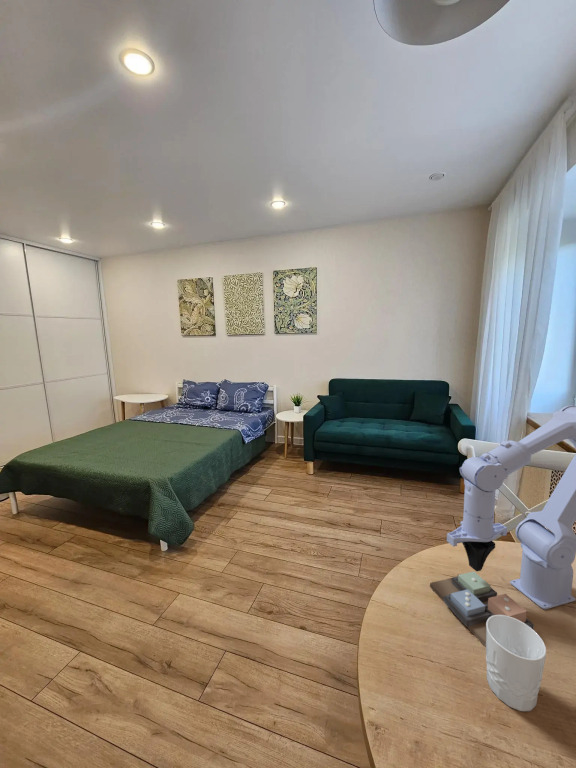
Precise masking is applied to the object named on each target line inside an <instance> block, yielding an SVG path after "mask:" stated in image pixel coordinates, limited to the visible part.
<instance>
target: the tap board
mask: <svg viewBox="0 0 576 768" xmlns="http://www.w3.org/2000/svg"><path fill="white" fill-rule="evenodd" d="M429 587H430V589H431V590H432V591H433V592H435V594H436V595H437V596H438V597H439V598H440V599H441V601H443V602H444V604H445V605H446V606H447V607H448V608H449V609H450V611H451V612H452V613H453V614H454V615H455V616H456V617H457V618H458V619H459V621H461V622H462V623H463V625H464V626H465V628H467V629H468V630H469V631H470V632H471V634H473V636H474V637H475V638H476V639H477V640H478V641H479V642H480V644H482V645H483V647H484V648H486V622H487V620H488V618H489V617H491V616H493V614H492V613H491V612H490V611H489V610H488V598H491V597H495V596H498V592H497V591H496V590H495V589H493V588H492V586H491V587H490V592H487V593H484V594H480V595H476V596H475V597H477V598H478V599H479V600H480V601H481V602H482V603H483V604H484V605H485V613H481V614H478V615H474V616H470V617H466V616H465V615H464V614H463V613H462V612H461V610H460V609H459V608H458V607H457V606H456V605H455V604H454V603H453V602H452V601H451V600H450V597H451V593H455V592H459V591H463V590H467V589H466V588H465V587H464V586H463V585H462V584H461V583H460V582H459V581H458V576H452V577H450V578H446V579H441V580H435V581H433V582H430V583H429ZM525 624H526V625H528V626H529V627H530V628H532V629H533V630H534V625H535V624H534V623H533V622H532V620H530V619H528V618H527V617H526V623H525Z"/></svg>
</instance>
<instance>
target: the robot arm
mask: <svg viewBox="0 0 576 768" xmlns="http://www.w3.org/2000/svg"><path fill="white" fill-rule="evenodd" d="M551 417H552V418H551V419H550V420H548V421H547V422H546V423H544V424H542V425H541V426H540V427H538V428H537V429H535V430H533V431H532V432H531V433H529V434H527V435H526V436H524V437H523V438H522V439H519V441H515V440H510V439H509V440H503V441H501V442H500V445H497V446H496V447H495V448H492V449H490V450H489V451H487V452H484V453H482V454H481V455H479V456H472V457H469V458H467V459H465V460H464V462H463V463H462V465H461V466H460V467H459V473H460V475H461V477H462V479H463V485H464V495H463V497H464V498H463V516H462V517H463V518H462V520H460V526H459V527H457V528H456V529H454V530H453V531H450V532H447V534H446V542H447V543H448V544H449V545H450V546H452V547H457V546H458V544H462V545H463V547H464V550H465V552H466V556H467V560H468V564H469V567H470V568H471V569H473V570H474V572H480V571H482V570H483V567H484V566H485V562H486V561H487V558H488V557H489V555H490V554H491V553H492V551H494V549H495V548H496V543H495V542H494V541H493V540H494V539H496V538H497V537H499V535H501V536H502V537H505V536H507V533H508V527H507V526H505V525H503V524H502V523H500V522H496V523H494V521H495V520H494V519H495V518H494V517H495V505H496V504H495V503H496V491H497V490H499V489H500V488H501V487H502V486H503V484H504V481H505V480H507V479H508V478H507V477H509V475H512V474H513V473H514V472H516V471H518V470H520V469H521V468H524V467H526V466H527V465H529V464H531V460H532V455H535V454H537V453H539V452H541V451H543V450H545V449H547V448H549V447H550V448H551V446H553V445H556V444H558V443H560V442H563V441H565V440H569V441H570V442H571V444H572V445H573V447H574V448H575V450H576V405H572V404H571V405H566V406H564V407H562V408H560V410H557V411H555V412H553V414H552V416H551ZM575 522H576V453H575V454H574V456H573V458H572V459H571V461H570V462H569V465H568V466H567V468H566V469H565V471H564V473H563V474H562V476H561V478H560V479H559V482H558V483H557V484H556V487H555V488H554V490H553V491H552V494H551V495H550V496H549V498H548V500H547V502H546V504H545V505H544V507H543V508H542V510H540V511H531V512H529V513H528V514H527V516H525V518H524V519H523V520H521V521H520V522H519V523H518V524H517V526H516V528H515V531H514V532H515V537H516V538H517V540H518V541H519V542H520V548H521V550H522V552H521V561H520V563H521V564H520V573H519V574H520V576H519V578H517V579H516V578H515V579H513V580H510V581H509V583H510V585H511V586H513V587H514V588H515V589H517V590H518V591H519V592H520V593H522V594H524V595H523V596H526V597H527V598H528V599H529V600H531V601H532V602H533V603H534V604H536V605H537V606H538V607H540V609H543V610H547V609H551V608H554V607H558V606H559V607H560V606H562V605H566V604H568V603H572V602H575V601H576V597H574V596H573V595H572V592H573V591H572V589H573V581H574V569H573V566H572V564H573V563H574V561H575V558H576V533H575V531H574V529H573V525H574V524H575Z"/></svg>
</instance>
